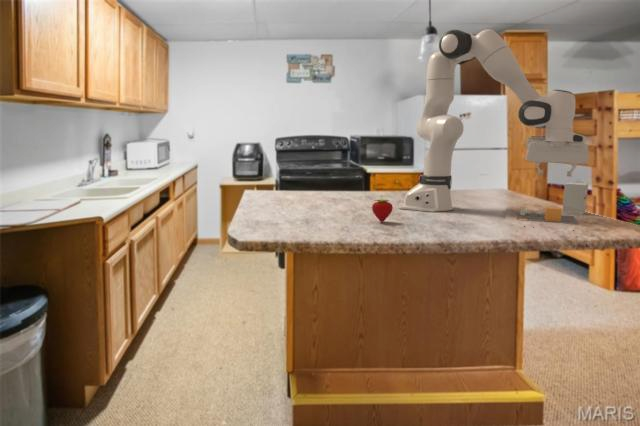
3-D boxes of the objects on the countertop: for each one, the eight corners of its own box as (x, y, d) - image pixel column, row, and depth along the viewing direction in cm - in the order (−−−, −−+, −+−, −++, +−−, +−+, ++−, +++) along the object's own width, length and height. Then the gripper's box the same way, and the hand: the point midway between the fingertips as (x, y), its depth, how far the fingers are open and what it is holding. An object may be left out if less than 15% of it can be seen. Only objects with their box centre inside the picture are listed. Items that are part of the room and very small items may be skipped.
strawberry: (393, 223, 176) (393, 196, 174) (371, 223, 176) (372, 195, 174) (391, 220, 182) (392, 193, 180) (371, 220, 182) (371, 193, 180)
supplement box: (582, 217, 189) (585, 185, 186) (561, 215, 193) (564, 183, 191) (585, 214, 194) (588, 183, 192) (565, 212, 199) (568, 181, 197)
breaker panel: (516, 222, 178) (517, 217, 178) (516, 215, 193) (517, 210, 193) (578, 227, 171) (579, 221, 171) (573, 219, 186) (573, 213, 185)
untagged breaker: (520, 215, 187) (521, 206, 186) (520, 214, 188) (520, 205, 188) (524, 215, 186) (525, 206, 186) (524, 214, 188) (525, 205, 187)
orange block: (545, 220, 177) (546, 208, 176) (544, 218, 182) (545, 206, 181) (560, 221, 175) (561, 209, 174) (559, 219, 180) (560, 207, 179)
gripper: (526, 136, 175) (523, 174, 177) (591, 137, 167) (587, 177, 170) (526, 135, 180) (523, 173, 183) (589, 137, 173) (584, 176, 175)
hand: (554, 175), depth 176 cm, fingers open, 8 cm apart
